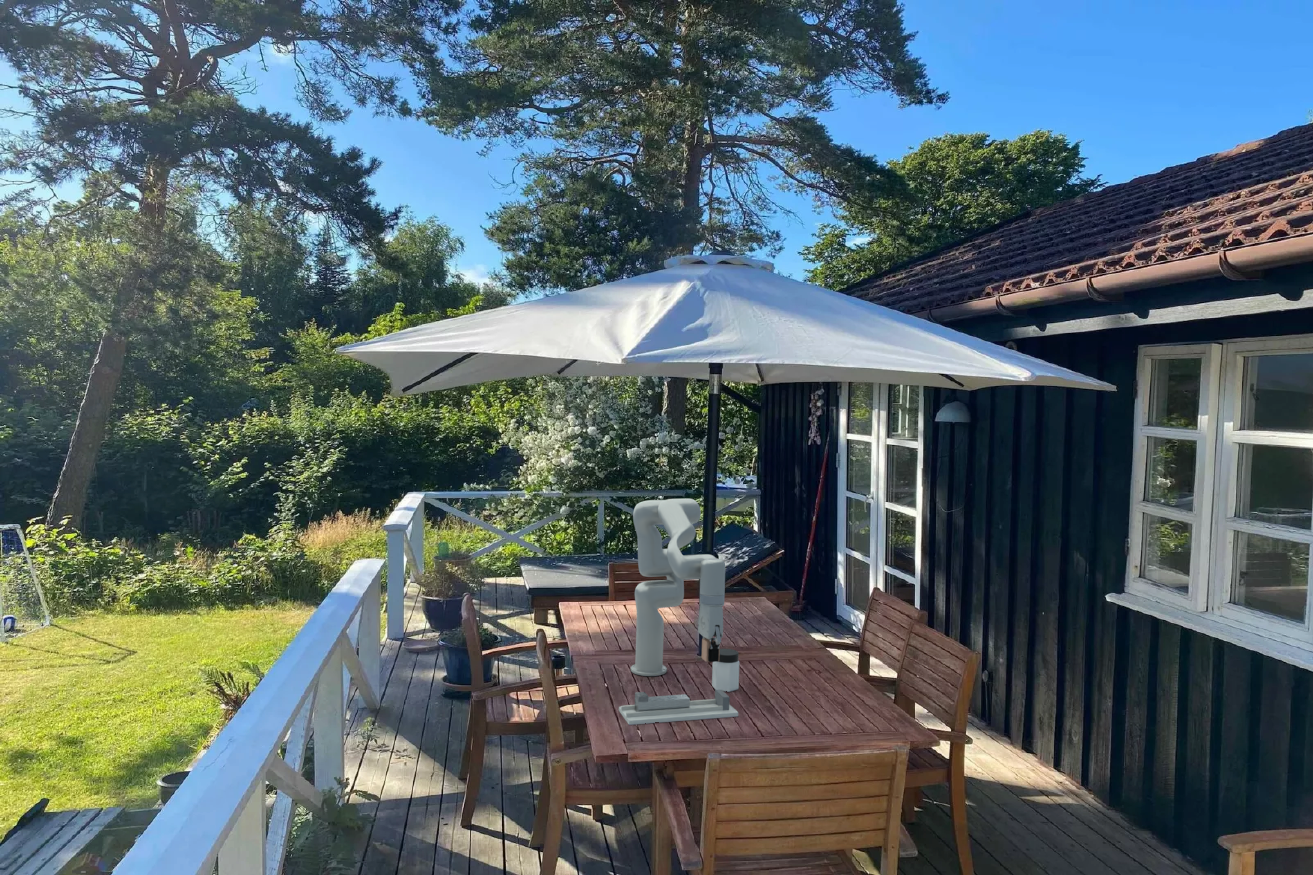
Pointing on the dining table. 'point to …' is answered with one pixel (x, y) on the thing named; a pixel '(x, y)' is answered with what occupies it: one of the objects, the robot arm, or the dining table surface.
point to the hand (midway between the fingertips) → (710, 658)
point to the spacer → (706, 649)
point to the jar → (726, 671)
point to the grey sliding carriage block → (660, 702)
